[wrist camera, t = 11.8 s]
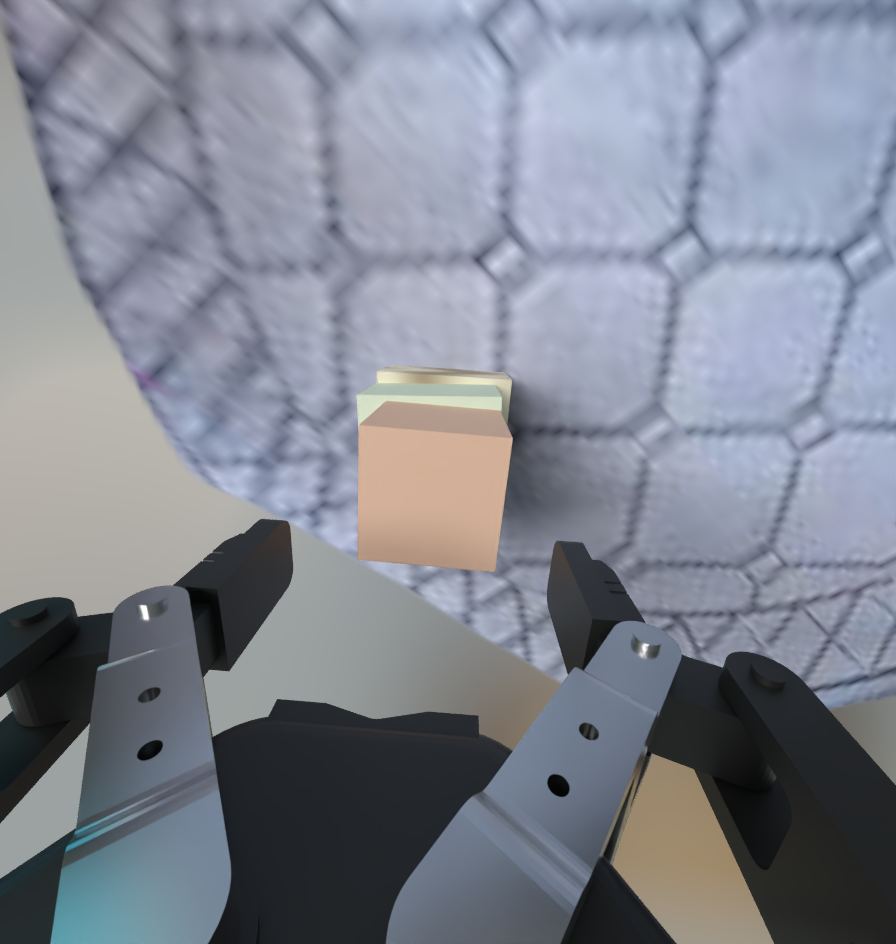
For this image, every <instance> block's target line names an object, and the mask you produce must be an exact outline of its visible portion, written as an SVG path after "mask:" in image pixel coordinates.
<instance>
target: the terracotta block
mask: <svg viewBox="0 0 896 944" xmlns="http://www.w3.org/2000/svg"><path fill="white" fill-rule="evenodd" d="M512 441H513V437H512V435H511V433H510V431H509V429H508V427H507V425H506V423H505V420H504V418H503V416H502V414H501V412H500V410H490V409H478V408H466V407H455V406H443V405H431V404H420V403H408V402H396V401H385V402H384V403H383V404H382V405H381V406H380V407H379V408H377V409H376V410H375V411H374V412H373V413H372V414H371V415H370V416H368V417H367V418H366V419H365V420H364V421H363V422H362V423H361V424H359V472H358V560H366V561H377V562H388V563H400V564H411V565H422V566H434V567H445V568H456V569H467V570H479V571H490V572H495V567H496V560H497V552H498V545H499V537H500V530H501V522H502V515H503V508H504V500H505V493H506V485H507V478H508V471H509V463H510V456H511V448H512Z"/></svg>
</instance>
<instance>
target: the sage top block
mask: <svg viewBox="0 0 896 944" xmlns="http://www.w3.org/2000/svg"><path fill="white" fill-rule="evenodd" d="M385 401H396V402H408V403H420V404H431V405H443V406H455V407H466V408H478V409H490V410H500V412H501V410H502V396H501V394H500V393H499V391H498V389H497V388H496V386H495V385H492V384H422V383H376V384H374V385H373V386H371V387H369V388H367V389H366V390H364V391H362V392H361V393H359V394H357V411H358V427H359V424H361V423H362V422H363V421H364V420H365V419H366V418H367V417H368V416H370V415H371V414H372V413H373V412H374V411H375V410H376V409H377V408H379V407H380V406H381V405H382V404H383V403H384V402H385Z"/></svg>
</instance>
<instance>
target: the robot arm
mask: <svg viewBox="0 0 896 944" xmlns="http://www.w3.org/2000/svg"><path fill="white" fill-rule="evenodd" d="M292 574H293V560H292V546H291V532H290V525H289V523H288V522H287V521H283V520H270V519H260V520H259V521H258V522H256V523H255V524H254V525H253V526H252V527H251V528H250V529H249V530H248V531H246V533H244V534H239V535H237V536H235V537H233V538H230V539H228V540H226V541H224V542H223V543H222V544H221V545H219V547H217V548H216V549H215V550H214V551H213V553H211V554H209V555H208V556H207V557H206V558H204V559H203V562H200V563H199V564H198V565H196V566H195V567H194V568H193V569H192V570H190V571H189V572H188V573H187V574H186V575H185V576H184V577H182V578H181V579H180V580H179V581H178V582H177V583H175V584H174V585H173V586H160V587H154V588H150V589H146V590H144V591H140V592H138V593H136V594H134V595H132V596H130V597H128V598H127V599H125V600H124V601H122V602H121V603H120V604H119V605H118V606H117V607H116V608H115V610H114V612H113V613H105V614H97V615H89V616H80V617H78V616H77V613H76V609H75V606H74V603H73V601H72V600H70V599H67V598H61V597H52V598H44V599H38V600H34V601H30V602H27V603H24V604H21V605H18V606H16V607H13V608H11V609H9V610H7V611H4V612H3V613H1V614H0V697H2V696H3V695H4V694H5V693H6V695H7V697H8V700H9V702H10V705H11V708H12V710H13V711H12V712H11V713H10V714H9V715H8V716H6V717H5V718H4V719H3V720H2V721H1V722H0V823H1V822H2V821H3V820H4V819H5V817H6V816H7V815H8V814H9V813H10V812H11V811H12V809H13V808H14V807H15V806H16V805H17V804H18V803H19V801H21V800H22V798H23V797H24V796H25V795H26V794H27V793H28V792H29V791H30V789H31V788H32V787H33V786H34V785H35V784H36V783H37V781H39V779H40V778H41V777H42V776H43V775H44V774H45V773H46V772H47V770H48V769H49V768H50V767H51V766H52V765H53V764H54V763H55V761H56V760H57V759H58V758H59V757H60V756H61V755H62V754H63V753H64V751H65V750H66V749H67V748H68V747H69V746H70V745H71V744H72V742H73V741H74V740H75V739H76V738H77V737H78V735H80V734H81V732H82V731H83V730H84V729H85V728H86V727H87V726H88V724H89V723H90V727H89V734H88V742H87V749H86V757H85V765H84V772H83V780H82V788H81V796H80V803H79V811H78V818H77V825H76V828H75V829H74V830H73V831H71V832H69V833H68V834H66V835H65V836H63V837H62V838H60V839H59V840H58V841H56V842H55V843H53V844H52V845H50V846H49V847H47V848H46V849H44V850H43V851H41V852H40V853H38V854H37V855H35V856H34V857H32V858H31V859H29V860H28V861H26V862H25V863H23V864H22V865H20V866H19V867H17V868H16V869H14V870H13V871H11V872H10V873H9V874H7V875H5V876H4V877H2V878H1V879H0V944H676V943H675V941H674V940H673V939H672V938H671V936H670V935H669V934H668V933H667V932H666V931H665V929H664V928H663V927H662V926H661V924H660V923H659V922H658V921H657V919H656V918H655V917H654V916H653V915H652V913H651V912H650V911H649V910H648V909H647V907H646V906H645V905H644V904H643V902H642V901H641V900H640V899H639V898H638V896H637V895H636V894H635V893H634V891H633V890H632V889H631V888H630V887H629V885H628V884H627V883H626V882H625V881H624V879H623V878H622V877H621V876H620V874H619V873H618V872H617V871H616V870H615V868H614V867H613V866H612V864H613V861H614V858H615V855H616V852H617V849H618V847H619V843H620V840H621V837H622V834H623V831H624V829H625V826H626V823H627V820H628V817H629V815H630V812H631V810H632V807H633V804H634V802H635V799H636V796H637V793H638V790H639V788H640V786H641V783H642V780H643V778H644V775H645V772H646V770H647V767H648V764H649V762H650V759H651V756H652V754H655V755H658V756H661V757H663V758H666V759H668V760H671V761H674V762H677V763H679V764H682V765H685V766H687V767H690V768H692V769H694V770H695V772H696V774H697V777H698V779H699V781H700V783H701V785H702V788H703V790H704V792H705V794H706V796H707V798H708V801H709V803H710V805H711V807H712V809H713V811H714V814H715V816H716V818H717V820H718V822H719V824H720V827H721V829H722V831H723V833H724V835H725V838H726V840H727V842H728V844H729V846H730V848H731V850H732V853H733V855H734V857H735V859H736V861H737V864H738V866H739V868H740V870H741V872H742V875H743V877H744V879H745V881H746V883H747V885H748V887H749V890H750V892H751V894H752V896H753V898H754V901H755V903H756V905H757V907H758V909H759V911H760V914H761V916H762V918H763V920H764V922H765V925H766V927H767V929H768V931H769V933H770V935H771V938H772V940H773V942H774V944H896V785H895V784H894V783H893V782H892V781H891V780H890V779H889V777H887V775H886V774H885V773H884V772H883V771H882V770H881V768H880V767H879V766H878V765H877V764H876V763H875V762H874V761H873V759H872V758H871V757H870V756H869V755H868V754H867V753H866V751H865V750H864V749H863V748H862V747H861V746H860V745H859V744H858V742H857V741H856V740H855V739H854V738H853V737H852V736H851V735H850V734H849V732H848V731H847V730H846V729H845V728H844V727H843V726H842V724H841V723H840V722H839V721H838V720H837V719H836V718H835V717H834V715H833V714H832V713H831V712H830V711H829V710H828V709H827V708H826V706H825V705H824V704H823V703H822V702H821V701H820V700H819V699H818V697H817V696H816V695H815V694H814V693H813V692H812V691H811V690H810V688H809V687H808V686H807V685H806V684H805V683H804V682H803V681H802V680H801V679H800V678H799V677H798V676H797V675H796V674H795V673H793V672H792V671H791V670H789V669H788V668H786V667H785V666H783V665H781V664H780V663H778V662H776V661H774V660H771V659H769V658H767V657H764V656H761V655H758V654H754V653H750V652H734V653H731V654H729V655H728V656H727V658H726V661H725V663H724V666H723V668H722V667H719V666H716V665H712V664H709V663H705V662H702V661H699V660H695V659H692V658H689V657H686V656H684V655H682V652H681V649H680V647H679V645H678V644H677V643H676V641H675V640H674V639H673V638H672V637H671V636H669V635H668V634H667V633H665V632H664V631H662V630H660V629H659V628H657V627H655V626H652V625H649V624H646V623H645V621H644V619H643V618H642V616H641V615H640V613H639V611H638V610H637V608H636V606H635V605H634V603H633V601H632V600H631V598H630V597H629V595H628V594H627V592H626V590H625V588H624V587H623V585H621V582H620V580H619V579H618V577H617V575H616V574H615V572H614V571H613V570H612V569H611V568H609V567H608V566H607V565H606V564H604V563H603V562H602V561H599V560H592V559H591V557H590V555H589V553H588V551H587V549H586V548H585V546H584V544H583V543H579V542H566V541H556V543H555V545H554V549H553V555H552V562H551V568H550V574H549V580H548V587H547V603H548V608H549V612H550V615H551V619H552V622H553V626H554V629H555V632H556V636H557V639H558V643H559V646H560V649H561V653H562V656H563V660H564V663H565V666H566V670H567V673H568V676H567V678H566V679H565V680H564V682H563V683H562V684H561V686H560V687H559V689H558V690H557V691H556V693H555V694H554V695H553V697H552V698H551V700H550V701H549V702H548V704H547V705H546V707H545V708H544V709H543V710H542V712H541V713H540V715H539V716H538V717H537V719H536V720H535V721H534V723H533V724H532V726H531V727H530V728H529V730H528V731H527V733H526V734H525V735H524V737H523V738H522V739H521V741H520V742H519V743H518V745H517V746H516V748H515V749H514V750H513V751H512V750H510V749H509V748H508V747H506V746H504V745H503V744H501V743H500V742H498V741H495V740H493V739H491V738H489V737H487V736H484V735H481V734H479V724H478V723H479V722H478V721H479V720H478V716H475V715H462V714H450V713H438V712H423V713H417V714H410V715H403V716H397V717H390V718H383V719H371V718H368V717H365V716H362V715H359V714H356V713H353V712H350V711H347V710H344V709H341V708H339V707H336V706H333V705H330V704H327V703H317V702H305V701H293V700H281V699H277V701H276V703H275V705H274V707H273V709H272V711H271V713H270V714H269V716H268V717H264V718H260V719H255V720H251V721H248V722H245V723H242V724H239V725H236V726H234V727H232V728H230V729H228V730H225V731H223V732H221V733H219V734H218V735H216V736H214V737H213V734H212V728H211V722H210V715H209V709H208V703H207V697H206V691H205V685H204V679H203V677H204V676H205V674H206V673H207V672H208V671H209V670H221V671H230V669H231V668H232V666H233V665H234V664H235V662H236V661H237V659H238V658H239V656H240V655H241V654H242V652H243V651H244V649H245V648H246V647H247V645H248V644H249V642H250V641H251V639H252V638H253V637H254V635H255V634H256V632H257V631H258V629H259V628H260V627H261V625H262V624H263V622H264V621H265V620H266V618H267V617H268V615H269V614H270V612H271V611H272V610H273V608H274V607H275V605H276V604H277V602H278V601H279V599H280V598H281V597H282V595H283V594H284V592H285V591H286V590H287V588H288V587H289V584H290V582H291V578H292Z"/></svg>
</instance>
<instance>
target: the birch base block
mask: <svg viewBox="0 0 896 944" xmlns="http://www.w3.org/2000/svg"><path fill="white" fill-rule="evenodd" d="M377 383H422V384H492V385H495V386H496V388H497V389H498V391H499V393H500V394H501V396H502V410H501V414H502V416H503V418H504V420H505V423H506V425H507V422H508V413H509V404H510V395H511V386H512V379H511V378H510V377H508V376H507V375H506V374H505V373H504V372H489V371H473V370H458V369H442V368H427V367H412V366H396V365H390V366H387V367H385V368H383V369H381V370H379V371H377Z"/></svg>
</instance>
